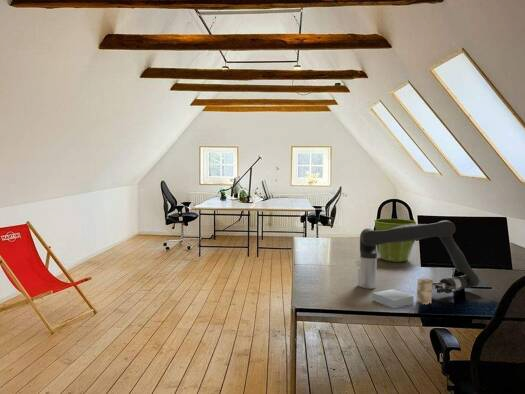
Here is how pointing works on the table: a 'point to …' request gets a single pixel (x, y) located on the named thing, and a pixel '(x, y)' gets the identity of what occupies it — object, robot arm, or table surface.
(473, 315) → the table surface
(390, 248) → the plant pot
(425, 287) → the beech block
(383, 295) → the base
